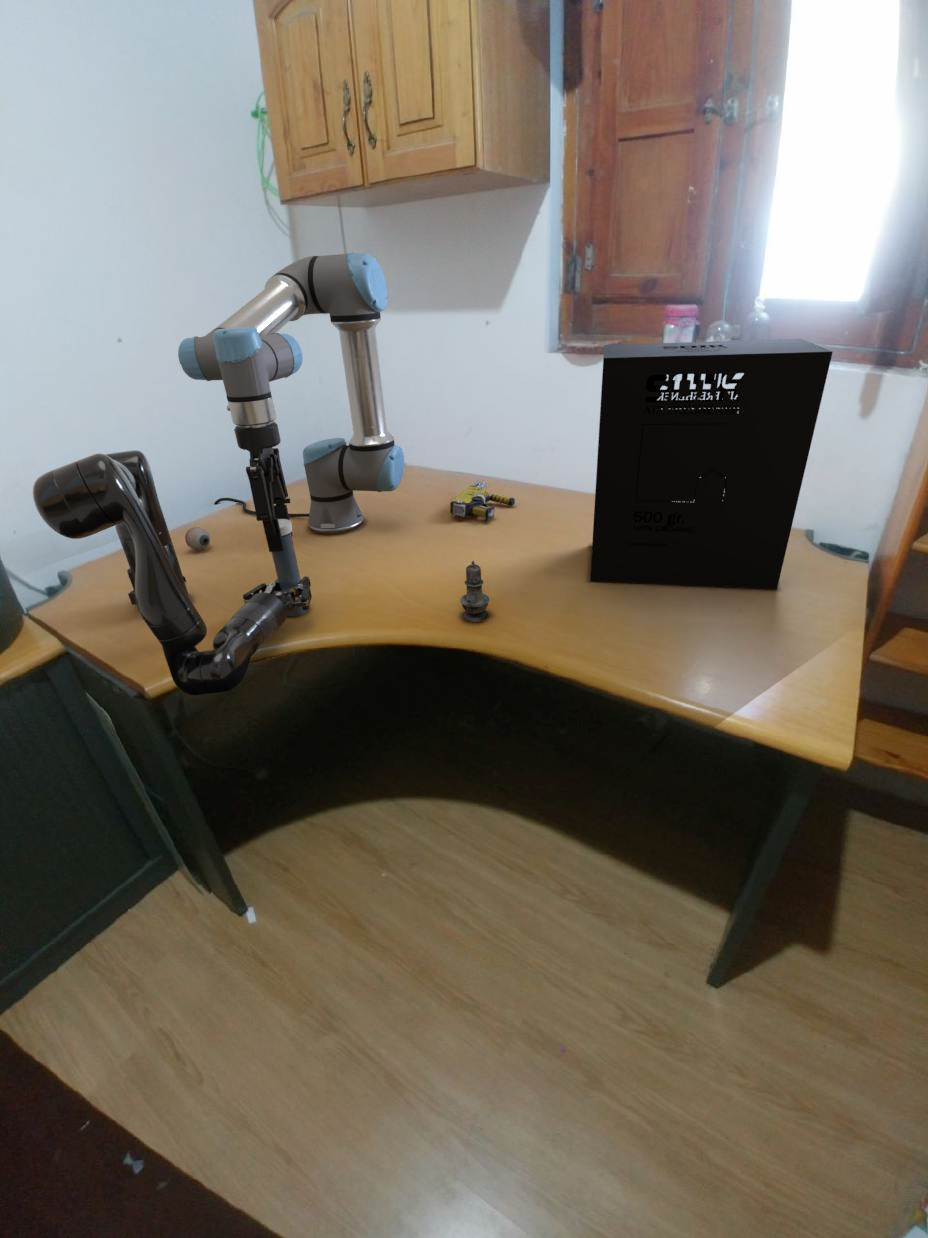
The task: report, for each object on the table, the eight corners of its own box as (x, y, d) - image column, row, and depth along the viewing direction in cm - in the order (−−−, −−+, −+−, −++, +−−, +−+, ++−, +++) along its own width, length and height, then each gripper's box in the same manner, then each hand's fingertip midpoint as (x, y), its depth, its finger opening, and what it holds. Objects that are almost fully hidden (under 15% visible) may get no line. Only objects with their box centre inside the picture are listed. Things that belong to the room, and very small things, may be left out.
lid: (263, 529, 119) (261, 521, 118) (290, 524, 121) (288, 517, 120) (266, 538, 115) (264, 530, 114) (294, 533, 116) (292, 525, 116)
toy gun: (523, 485, 181) (476, 478, 185) (501, 509, 161) (448, 500, 165) (521, 500, 184) (475, 493, 187) (499, 525, 163) (447, 517, 167)
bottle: (304, 616, 125) (286, 530, 115) (283, 617, 125) (263, 532, 115) (308, 605, 128) (291, 522, 119) (288, 606, 129) (269, 523, 119)
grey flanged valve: (487, 623, 118) (485, 567, 112) (458, 621, 119) (454, 566, 113) (492, 608, 123) (490, 554, 117) (464, 607, 124) (461, 553, 118)
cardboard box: (756, 549, 141) (800, 338, 118) (776, 589, 124) (832, 351, 101) (592, 544, 148) (604, 344, 126) (590, 580, 131) (603, 357, 109)
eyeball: (199, 555, 155) (192, 533, 152) (183, 551, 158) (177, 529, 155) (218, 547, 159) (212, 525, 156) (203, 543, 162) (197, 522, 159)
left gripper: (289, 605, 108) (325, 564, 123) (217, 601, 111) (261, 562, 125) (297, 640, 112) (331, 597, 127) (227, 636, 115) (268, 594, 129)
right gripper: (250, 413, 116) (274, 526, 127) (215, 437, 99) (248, 565, 111) (288, 411, 116) (310, 524, 127) (261, 435, 99) (289, 562, 110)
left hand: (296, 580), depth 126 cm, fingers closed on bottle, 4 cm apart
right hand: (281, 543), depth 119 cm, fingers open, 6 cm apart
